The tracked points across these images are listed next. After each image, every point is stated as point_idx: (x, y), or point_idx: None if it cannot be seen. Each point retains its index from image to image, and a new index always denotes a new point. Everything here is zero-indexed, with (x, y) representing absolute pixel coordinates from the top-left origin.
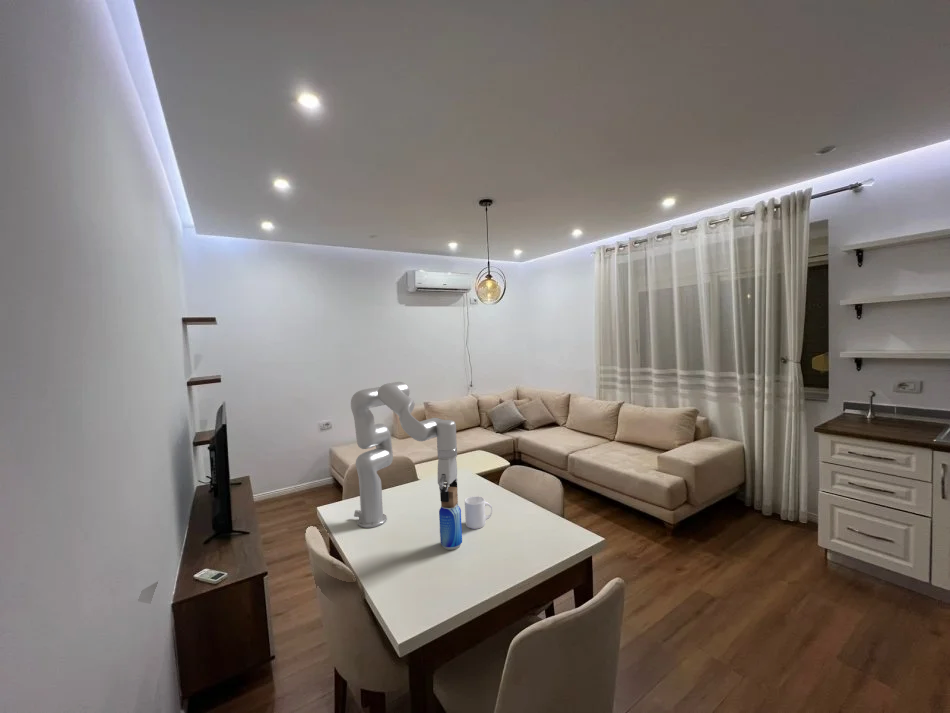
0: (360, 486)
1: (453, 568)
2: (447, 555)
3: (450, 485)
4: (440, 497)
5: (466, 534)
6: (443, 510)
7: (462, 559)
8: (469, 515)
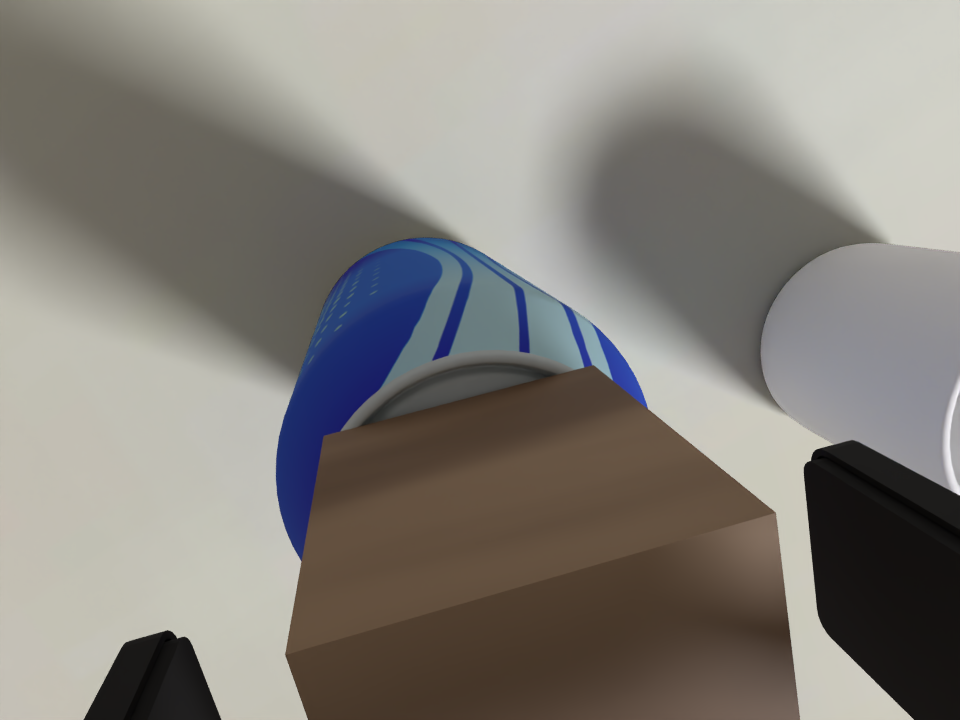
0: None
1: (112, 562)
2: (254, 406)
3: (939, 574)
4: (89, 714)
5: (648, 358)
6: (307, 476)
7: (266, 551)
8: (837, 365)
